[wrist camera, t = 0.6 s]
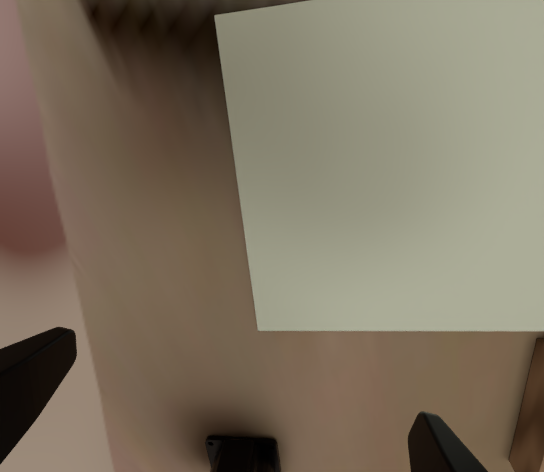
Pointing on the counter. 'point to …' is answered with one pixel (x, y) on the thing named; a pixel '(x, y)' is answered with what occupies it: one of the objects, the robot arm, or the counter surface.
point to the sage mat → (390, 162)
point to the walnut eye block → (531, 419)
